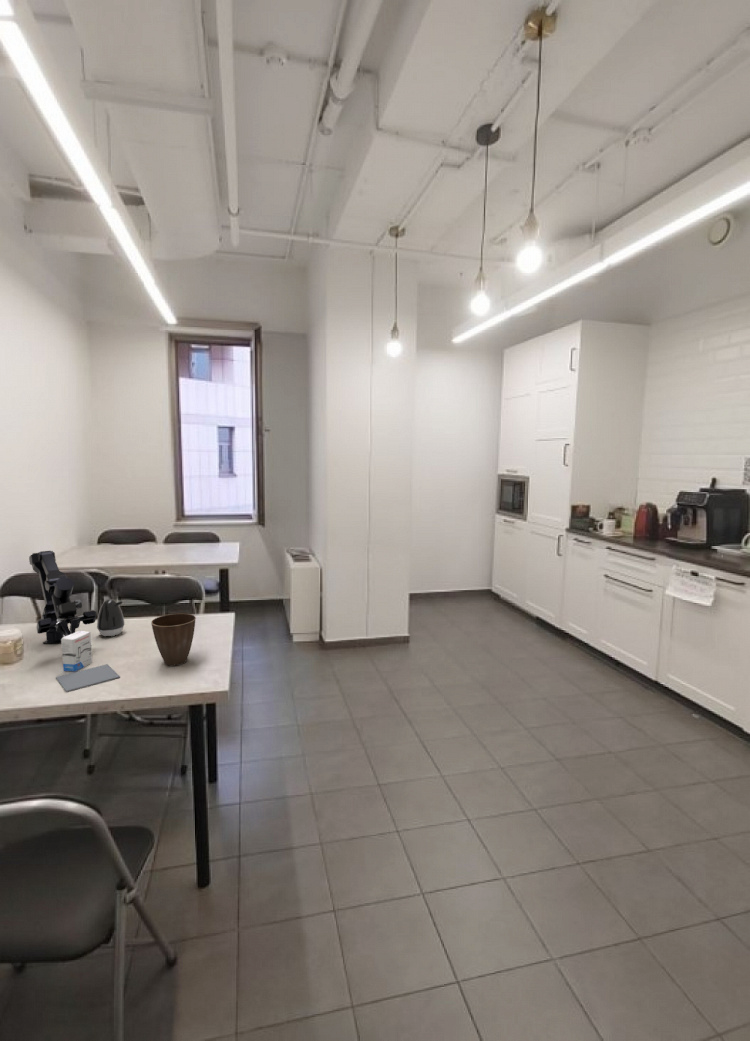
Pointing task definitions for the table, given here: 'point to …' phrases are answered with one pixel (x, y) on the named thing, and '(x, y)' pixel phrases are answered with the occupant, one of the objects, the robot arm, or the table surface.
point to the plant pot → (174, 637)
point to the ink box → (76, 651)
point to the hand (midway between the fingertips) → (72, 641)
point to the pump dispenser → (110, 618)
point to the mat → (87, 677)
